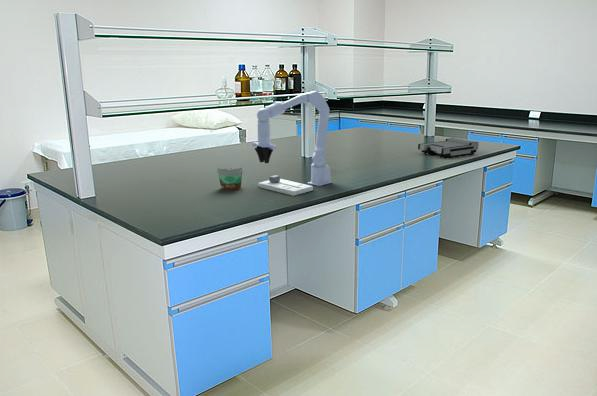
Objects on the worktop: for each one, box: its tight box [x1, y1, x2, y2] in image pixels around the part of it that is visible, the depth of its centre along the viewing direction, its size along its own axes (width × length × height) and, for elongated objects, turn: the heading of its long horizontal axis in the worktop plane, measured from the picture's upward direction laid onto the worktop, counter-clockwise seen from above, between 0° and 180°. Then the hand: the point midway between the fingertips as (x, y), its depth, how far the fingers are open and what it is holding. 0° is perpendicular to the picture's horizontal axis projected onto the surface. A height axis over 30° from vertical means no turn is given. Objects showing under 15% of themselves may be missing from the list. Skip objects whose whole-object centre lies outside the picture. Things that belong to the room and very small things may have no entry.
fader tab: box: [268, 174, 281, 183], centre depth 233 cm, size 4×3×3 cm
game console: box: [417, 137, 479, 159], centre depth 313 cm, size 21×32×8 cm, turn 122°
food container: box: [216, 167, 245, 192], centre depth 227 cm, size 12×6×10 cm, turn 106°
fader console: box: [257, 178, 314, 197], centre depth 229 cm, size 13×23×2 cm, turn 47°
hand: (264, 162), depth 236 cm, fingers open, 3 cm apart
